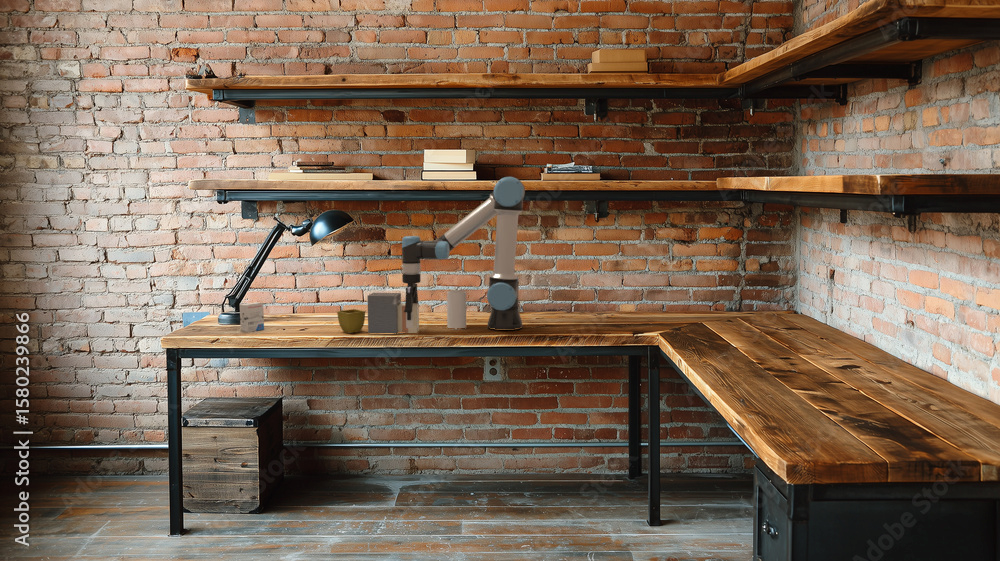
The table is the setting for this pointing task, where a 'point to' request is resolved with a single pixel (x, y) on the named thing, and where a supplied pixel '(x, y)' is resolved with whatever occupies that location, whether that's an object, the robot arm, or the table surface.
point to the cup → (456, 309)
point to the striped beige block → (402, 318)
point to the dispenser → (383, 312)
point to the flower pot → (351, 320)
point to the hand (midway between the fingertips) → (412, 325)
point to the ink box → (251, 317)
